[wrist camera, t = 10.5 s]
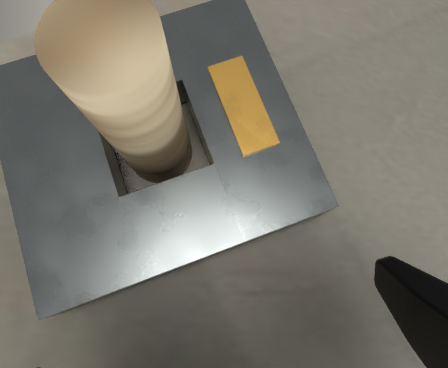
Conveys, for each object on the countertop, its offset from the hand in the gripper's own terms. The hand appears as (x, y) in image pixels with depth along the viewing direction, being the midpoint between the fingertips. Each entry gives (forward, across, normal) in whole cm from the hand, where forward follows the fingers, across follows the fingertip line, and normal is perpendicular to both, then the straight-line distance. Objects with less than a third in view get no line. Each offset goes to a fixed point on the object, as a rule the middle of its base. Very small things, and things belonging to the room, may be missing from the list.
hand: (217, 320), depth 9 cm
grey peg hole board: (+16, +1, +2) cm, 17 cm away
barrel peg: (+16, +1, +2) cm, 17 cm away
